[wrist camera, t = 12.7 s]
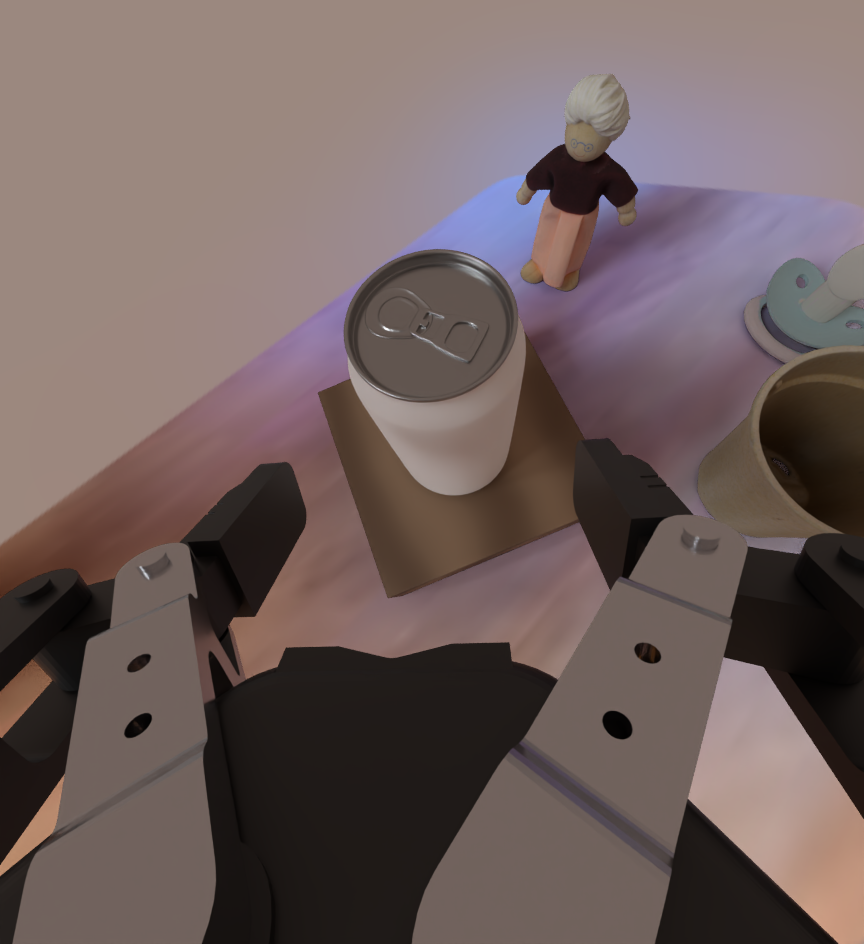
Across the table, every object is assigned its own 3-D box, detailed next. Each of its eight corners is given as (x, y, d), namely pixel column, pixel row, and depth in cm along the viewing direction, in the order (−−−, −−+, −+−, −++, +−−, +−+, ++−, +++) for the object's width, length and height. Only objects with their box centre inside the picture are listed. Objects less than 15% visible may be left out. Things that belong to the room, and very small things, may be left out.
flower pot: (640, 508, 25) (715, 473, 17) (706, 395, 27) (805, 312, 19) (792, 596, 23) (964, 603, 15) (856, 466, 25) (1045, 406, 16)
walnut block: (402, 595, 26) (387, 598, 22) (338, 416, 30) (317, 392, 26) (599, 513, 26) (619, 501, 22) (508, 344, 30) (512, 310, 26)
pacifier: (797, 390, 27) (871, 342, 27) (885, 336, 21) (980, 274, 21) (717, 316, 29) (785, 271, 29) (776, 247, 23) (862, 191, 23)
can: (432, 382, 25) (389, 217, 14) (526, 420, 24) (566, 270, 12) (384, 470, 24) (293, 369, 13) (480, 516, 23) (477, 448, 11)
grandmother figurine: (504, 290, 31) (516, 105, 19) (513, 250, 32) (530, 50, 20) (605, 301, 30) (688, 108, 18) (611, 259, 31) (694, 49, 19)
